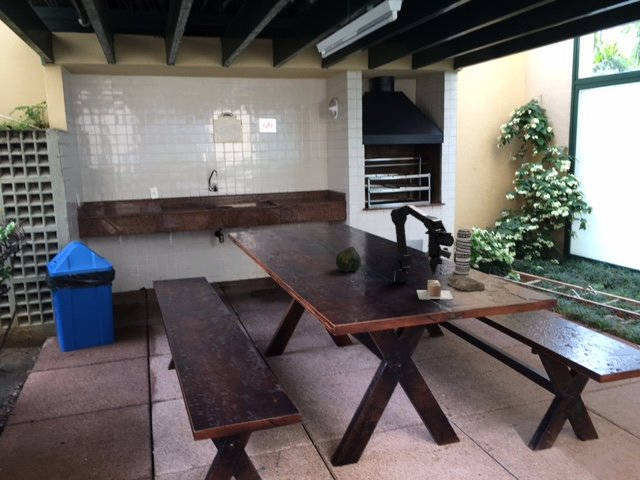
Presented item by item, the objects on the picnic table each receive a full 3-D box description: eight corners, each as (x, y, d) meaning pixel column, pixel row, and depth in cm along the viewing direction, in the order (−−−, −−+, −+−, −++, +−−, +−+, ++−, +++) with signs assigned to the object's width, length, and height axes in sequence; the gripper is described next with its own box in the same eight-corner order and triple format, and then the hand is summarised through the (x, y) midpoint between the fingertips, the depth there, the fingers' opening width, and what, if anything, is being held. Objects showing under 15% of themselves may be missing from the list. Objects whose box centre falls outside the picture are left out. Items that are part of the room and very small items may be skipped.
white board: (419, 299, 253) (419, 298, 253) (416, 291, 267) (416, 290, 267) (453, 299, 252) (453, 298, 252) (448, 291, 266) (449, 290, 265)
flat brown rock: (441, 283, 284) (462, 292, 265) (442, 274, 283) (462, 282, 264) (464, 281, 288) (486, 290, 269) (465, 272, 287) (486, 280, 268)
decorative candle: (471, 274, 300) (473, 230, 295) (454, 273, 301) (456, 230, 297) (470, 270, 308) (472, 228, 304) (453, 270, 310) (455, 227, 306)
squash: (327, 262, 309) (343, 244, 302) (338, 258, 322) (354, 241, 316) (343, 280, 305) (360, 262, 299) (354, 275, 318) (370, 258, 312)
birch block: (427, 289, 268) (430, 296, 256) (427, 280, 267) (430, 286, 255) (437, 289, 267) (440, 296, 255) (437, 280, 266) (441, 286, 254)
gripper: (453, 247, 253) (452, 279, 256) (447, 240, 271) (446, 270, 274) (430, 247, 254) (429, 279, 257) (425, 240, 272) (424, 270, 275)
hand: (433, 274), depth 266 cm, fingers closed
